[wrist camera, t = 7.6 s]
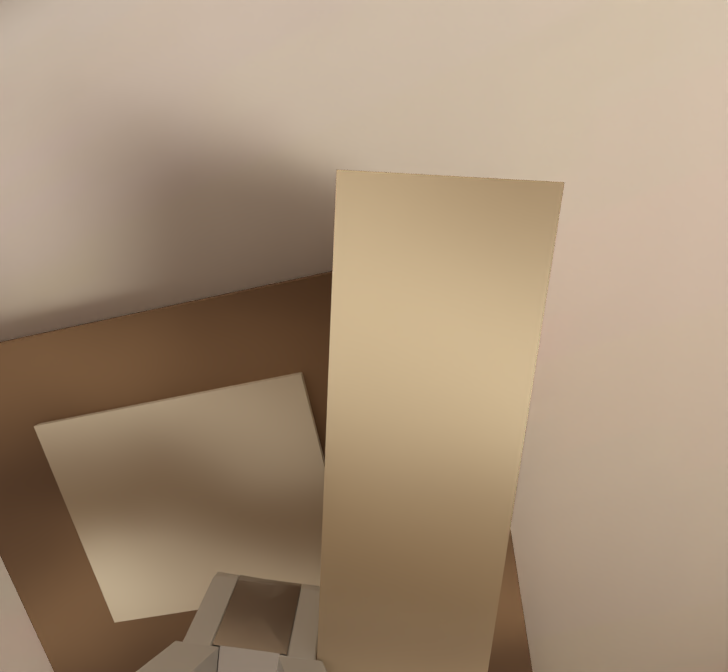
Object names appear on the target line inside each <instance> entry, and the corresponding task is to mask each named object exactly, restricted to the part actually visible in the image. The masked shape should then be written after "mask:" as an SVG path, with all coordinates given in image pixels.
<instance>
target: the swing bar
mask: <svg viewBox="0 0 728 672" xmlns="http://www.w3.org/2000/svg"><path fill="white" fill-rule="evenodd" d="M563 188H564V182H549V181H531V180H513V179H495V178H477V177H459V176H441V175H423V174H405V173H387V172H369V171H351V170H337V171H336V196H335V221H334V246H333V271H332V296H331V321H330V346H329V371H328V396H327V421H326V446H325V471H324V496H323V521H322V546H321V571H320V596H319V621H318V646H317V660H319V661H323V663H324V665H325V668H326V670H327V672H488V667H489V661H490V654H491V648H492V642H493V635H494V629H495V622H496V616H497V610H498V603H499V597H500V591H501V584H502V578H503V571H504V565H505V559H506V552H507V546H508V539H509V533H510V527H511V520H512V514H513V508H514V501H515V495H516V488H517V482H518V476H519V469H520V463H521V456H522V450H523V444H524V437H525V431H526V424H527V418H528V412H529V405H530V399H531V393H532V386H533V380H534V373H535V367H536V361H537V354H538V348H539V341H540V335H541V329H542V322H543V316H544V310H545V303H546V297H547V290H548V284H549V278H550V271H551V265H552V258H553V252H554V246H555V239H556V233H557V226H558V220H559V214H560V207H561V201H562V195H563Z"/></svg>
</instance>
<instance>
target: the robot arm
mask: <svg viewBox="0 0 728 672" xmlns="http://www.w3.org/2000/svg"><path fill="white" fill-rule="evenodd" d="M301 586H302V587H301ZM319 596H320V586H315V585H307V584H299V583H291V582H284V581H276V580H268V579H262V578H256V577H250V576H244V575H235V574H229V573H223V572H217V574H216V575H215V576H214V577H213V579H212V581H211V583H210V585H209V587H208V589H207V592H206V594H205V596H204V598H203V600H202V602H201V604H200V606H199V608H198V611H197V613H196V615H195V617H194V619H193V621H192V623H191V625H190V627H189V630H188V632H187V634H186V636H185V638H184V640H183V642H181V641H175V642H173V643H172V644H171V645H170V646H168V647H167V648H166V649H164V650H163V651H162V652H161V653H159V654H158V655H157V656H155V657H154V658H153V659H152V660H150V661H149V662H148V663H147V664H145V665H144V666H143V667H141V668H140V669H139V670H138V671H136V672H327V670H326V668H325V665H324V663H323V661H319V660H316V652H317V644H318V621H319Z"/></svg>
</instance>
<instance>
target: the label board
mask: <svg viewBox="0 0 728 672" xmlns="http://www.w3.org/2000/svg"><path fill="white" fill-rule="evenodd" d="M331 296H332V271H330V272H326V273H321V274H316V275H312V276H307V277H302V278H298V279H293V280H288V281H283V282H279V283H274V284H269V285H265V286H260V287H255V288H251V289H246V290H241V291H237V292H232V293H227V294H223V295H218V296H213V297H209V298H204V299H199V300H195V301H190V302H185V303H181V304H176V305H171V306H167V307H162V308H157V309H153V310H148V311H143V312H139V313H134V314H129V315H125V316H120V317H115V318H111V319H106V320H101V321H96V322H92V323H87V324H82V325H78V326H73V327H68V328H64V329H59V330H54V331H50V332H45V333H40V334H36V335H31V336H26V337H22V338H17V339H12V340H8V341H3V342H0V556H1V558H2V560H3V562H4V564H5V567H6V569H7V571H8V573H9V575H10V577H11V580H12V582H13V584H14V586H15V588H16V590H17V592H18V595H19V597H20V599H21V601H22V603H23V605H24V608H25V610H26V612H27V614H28V616H29V618H30V620H31V623H32V625H33V627H34V629H35V631H36V633H37V636H38V638H39V640H40V642H41V644H42V646H43V648H44V651H45V653H46V655H47V657H48V659H49V661H50V663H51V666H52V668H53V670H54V672H136V671H138V670H139V669H140V668H141V667H143V666H144V665H145V664H147V663H148V662H149V661H150V660H152V659H153V658H154V657H155V656H157V655H158V654H159V653H161V652H162V651H163V650H164V649H166V648H167V647H168V646H170V645H171V644H172V643H173V642H175V641H181V642H183V640H184V638H185V636H186V634H187V632H188V630H189V627H190V625H191V623H192V621H193V619H194V617H195V615H196V613H197V611H198V608H199V606H200V604H201V602H202V600H203V598H204V596H205V594H206V592H207V589H208V587H209V585H210V583H211V581H212V579H213V577H214V576H215V575H216V574H217V572H223V573H229V574H235V575H244V576H250V577H256V578H262V579H268V580H276V581H284V582H291V583H299V584H307V585H315V586H320V571H321V546H322V521H323V496H324V471H325V446H326V421H327V396H328V371H329V346H330V321H331ZM301 587H302V586H301ZM317 646H318V644H317ZM316 660H317V652H316ZM488 672H532V666H531V660H530V653H529V647H528V640H527V634H526V627H525V621H524V614H523V608H522V601H521V595H520V588H519V582H518V575H517V569H516V562H515V556H514V549H513V543H512V536H511V530H510V533H509V539H508V546H507V552H506V559H505V565H504V571H503V578H502V584H501V591H500V597H499V603H498V610H497V616H496V622H495V629H494V635H493V642H492V648H491V654H490V661H489V667H488Z"/></svg>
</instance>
